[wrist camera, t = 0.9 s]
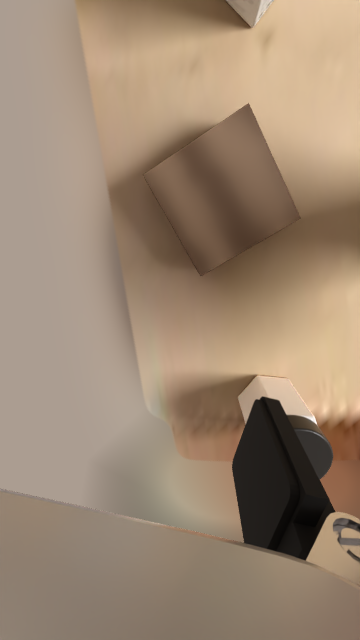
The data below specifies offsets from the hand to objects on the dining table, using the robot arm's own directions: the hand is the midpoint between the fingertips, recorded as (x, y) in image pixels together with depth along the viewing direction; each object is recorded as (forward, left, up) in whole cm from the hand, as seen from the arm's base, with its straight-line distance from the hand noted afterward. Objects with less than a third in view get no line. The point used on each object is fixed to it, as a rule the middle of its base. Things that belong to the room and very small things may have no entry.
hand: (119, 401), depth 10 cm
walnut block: (-10, -5, -30) cm, 32 cm away
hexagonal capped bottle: (-4, +23, -30) cm, 38 cm away
